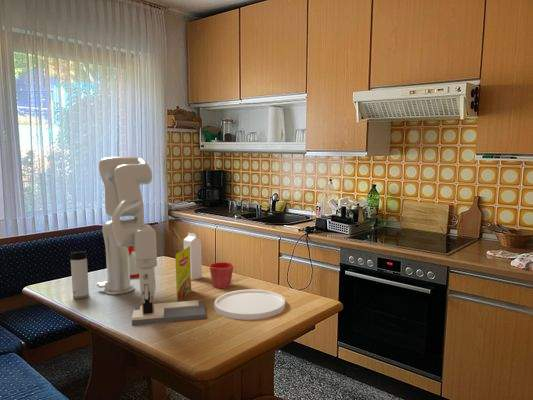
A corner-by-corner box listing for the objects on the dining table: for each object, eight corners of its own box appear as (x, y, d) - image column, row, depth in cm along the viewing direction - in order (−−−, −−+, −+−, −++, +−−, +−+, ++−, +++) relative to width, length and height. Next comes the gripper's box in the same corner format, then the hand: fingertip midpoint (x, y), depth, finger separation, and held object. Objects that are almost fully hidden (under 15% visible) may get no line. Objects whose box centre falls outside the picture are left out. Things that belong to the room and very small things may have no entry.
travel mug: (73, 300, 176) (70, 253, 174) (72, 295, 182) (69, 250, 180) (89, 297, 179) (86, 251, 177) (88, 293, 185) (85, 248, 183)
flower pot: (223, 280, 201) (222, 260, 200) (238, 285, 193) (238, 264, 192) (205, 285, 194) (204, 265, 193) (220, 291, 186) (219, 269, 185)
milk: (192, 280, 202) (190, 235, 200) (184, 277, 206) (182, 233, 204) (202, 277, 207) (200, 232, 204) (194, 275, 211) (192, 231, 208)
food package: (178, 302, 173) (176, 254, 170) (175, 302, 173) (174, 254, 171) (192, 290, 188) (190, 246, 185) (190, 290, 188) (188, 245, 186)
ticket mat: (132, 325, 151) (131, 319, 150) (135, 309, 165) (135, 304, 165) (205, 318, 156) (205, 312, 156) (202, 303, 171) (202, 298, 170)
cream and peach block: (131, 320, 151) (131, 301, 150) (133, 312, 158) (132, 294, 157) (163, 317, 153) (163, 298, 152) (164, 310, 160) (163, 292, 159)
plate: (252, 327, 149) (252, 320, 148) (199, 308, 167) (199, 302, 166) (299, 304, 170) (299, 298, 169) (248, 290, 188) (248, 285, 188)
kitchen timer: (148, 270, 221) (147, 241, 219) (142, 278, 207) (141, 247, 206) (121, 270, 220) (120, 242, 219) (113, 278, 207) (111, 248, 205)
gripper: (156, 267, 146) (158, 318, 148) (157, 256, 162) (159, 302, 164) (133, 268, 144) (135, 320, 146) (137, 257, 160) (139, 304, 162)
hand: (148, 310), depth 155 cm, fingers closed on cream and peach block, 3 cm apart
